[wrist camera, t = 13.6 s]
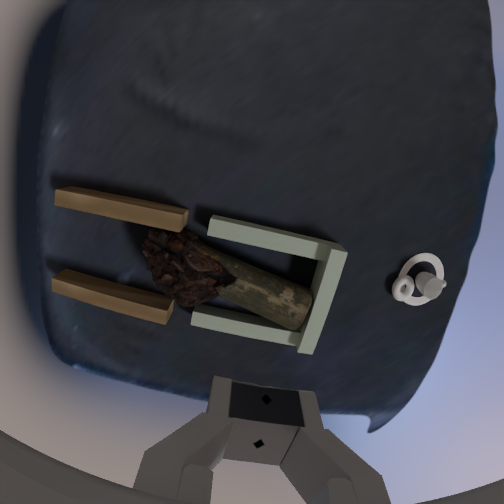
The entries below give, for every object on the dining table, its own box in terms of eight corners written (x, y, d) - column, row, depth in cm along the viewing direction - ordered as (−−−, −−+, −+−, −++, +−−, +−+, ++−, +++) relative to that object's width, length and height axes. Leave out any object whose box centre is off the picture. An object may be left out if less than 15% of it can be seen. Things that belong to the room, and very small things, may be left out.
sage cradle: (213, 214, 39) (208, 220, 35) (339, 243, 40) (347, 252, 36) (194, 315, 43) (188, 330, 39) (308, 338, 43) (312, 354, 40)
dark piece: (309, 282, 41) (319, 305, 35) (280, 330, 43) (284, 358, 37) (162, 211, 39) (145, 222, 32) (140, 265, 41) (122, 284, 34)
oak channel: (71, 186, 38) (55, 189, 34) (189, 209, 38) (182, 215, 35) (65, 281, 41) (52, 291, 38) (172, 310, 42) (165, 324, 38)
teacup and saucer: (383, 298, 42) (394, 310, 38) (402, 244, 40) (415, 253, 36) (430, 307, 43) (442, 319, 39) (449, 258, 40) (463, 267, 37)
